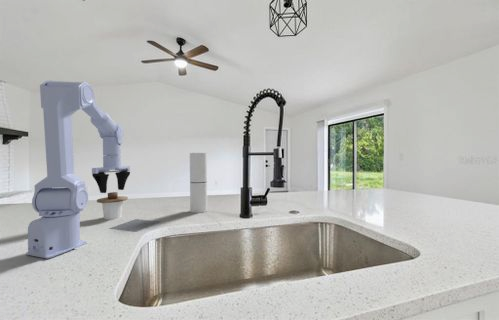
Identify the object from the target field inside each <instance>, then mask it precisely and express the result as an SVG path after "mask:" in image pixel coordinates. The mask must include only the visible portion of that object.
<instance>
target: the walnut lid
mask: <svg viewBox="0 0 499 320" xmlns="http://www.w3.org/2000/svg"><path fill="white" fill-rule="evenodd" d="M118 195H119V194H118V191H117V192H116V191H115V192H114V191H113V192H108V193H107V196H105V197H102V198H98V199H96V203H97V204H98V203H99V204H102V203H113V202H120V201H123V202H124V201H127V200H129V199H128V196H124V195H121V196H118Z"/></svg>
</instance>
